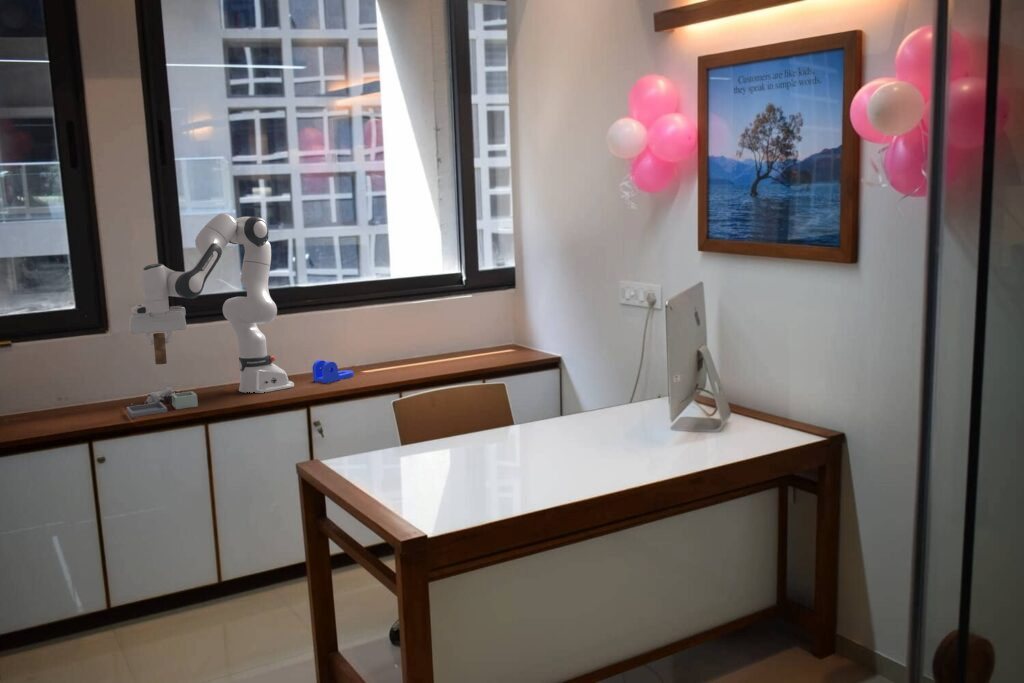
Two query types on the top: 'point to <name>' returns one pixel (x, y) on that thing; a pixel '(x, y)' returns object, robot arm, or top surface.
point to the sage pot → (184, 400)
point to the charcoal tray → (146, 409)
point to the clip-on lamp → (160, 396)
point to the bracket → (328, 372)
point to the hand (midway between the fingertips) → (159, 343)
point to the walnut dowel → (160, 348)
